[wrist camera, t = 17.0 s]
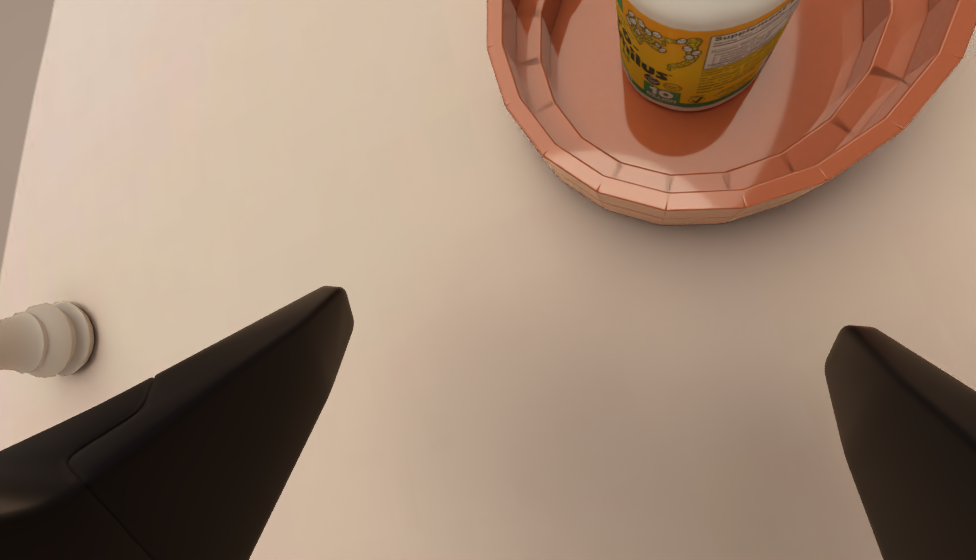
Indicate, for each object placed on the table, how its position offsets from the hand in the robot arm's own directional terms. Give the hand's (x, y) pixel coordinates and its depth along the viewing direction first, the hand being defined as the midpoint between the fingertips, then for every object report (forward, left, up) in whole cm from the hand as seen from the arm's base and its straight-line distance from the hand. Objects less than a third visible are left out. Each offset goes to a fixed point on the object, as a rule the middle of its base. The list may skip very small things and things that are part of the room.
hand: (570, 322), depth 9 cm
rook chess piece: (+29, +12, -12) cm, 34 cm away
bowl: (0, -11, -12) cm, 16 cm away
